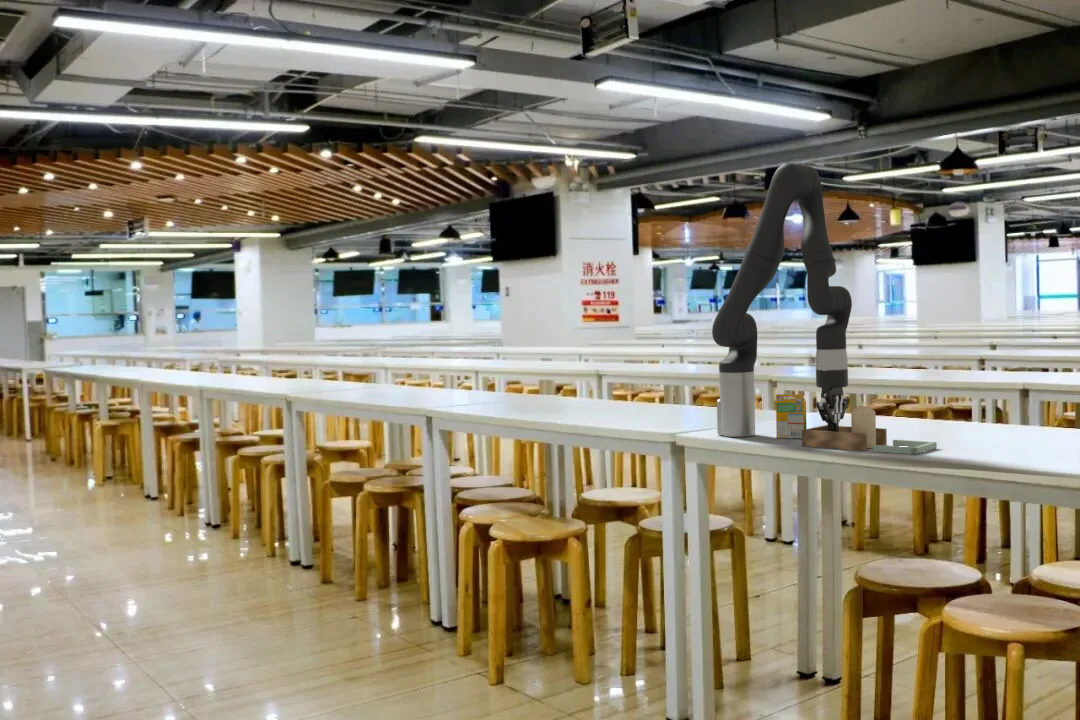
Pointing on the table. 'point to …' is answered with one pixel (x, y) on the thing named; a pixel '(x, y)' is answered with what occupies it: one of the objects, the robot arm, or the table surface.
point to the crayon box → (790, 416)
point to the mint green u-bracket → (912, 448)
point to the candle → (864, 423)
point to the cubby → (840, 438)
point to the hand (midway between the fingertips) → (833, 438)
